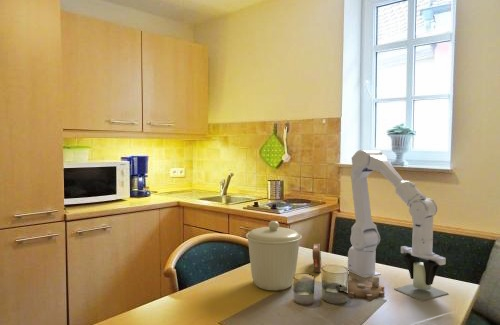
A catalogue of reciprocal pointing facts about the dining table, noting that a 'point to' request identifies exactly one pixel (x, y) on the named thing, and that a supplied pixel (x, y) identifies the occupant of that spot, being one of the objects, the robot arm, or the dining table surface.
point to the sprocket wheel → (365, 288)
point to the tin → (316, 258)
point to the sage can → (420, 276)
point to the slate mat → (421, 292)
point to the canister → (273, 256)
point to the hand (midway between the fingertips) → (421, 281)
